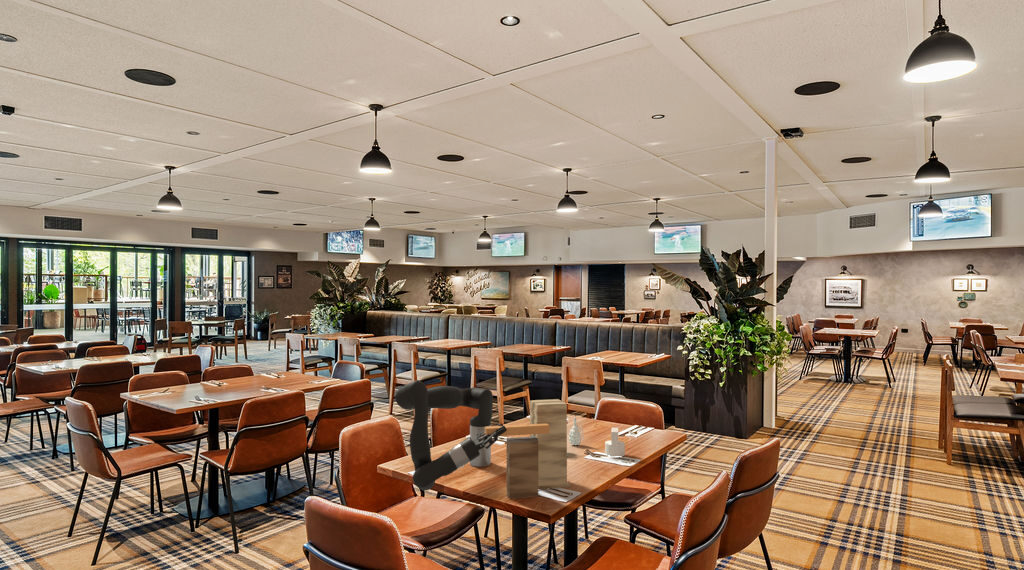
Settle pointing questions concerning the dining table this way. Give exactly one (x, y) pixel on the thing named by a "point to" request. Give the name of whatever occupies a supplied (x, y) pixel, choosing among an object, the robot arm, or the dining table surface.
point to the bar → (520, 429)
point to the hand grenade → (575, 434)
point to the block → (522, 467)
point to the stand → (551, 442)
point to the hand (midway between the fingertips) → (504, 426)
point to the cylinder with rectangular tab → (614, 445)
